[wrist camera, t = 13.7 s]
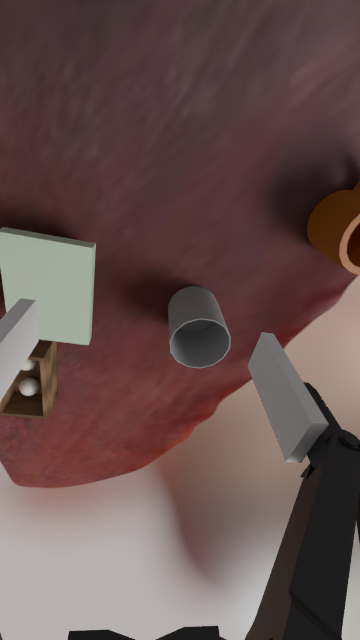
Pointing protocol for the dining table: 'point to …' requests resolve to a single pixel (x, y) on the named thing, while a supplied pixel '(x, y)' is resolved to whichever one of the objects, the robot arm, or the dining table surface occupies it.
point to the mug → (338, 228)
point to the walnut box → (48, 387)
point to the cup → (197, 328)
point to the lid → (50, 281)
